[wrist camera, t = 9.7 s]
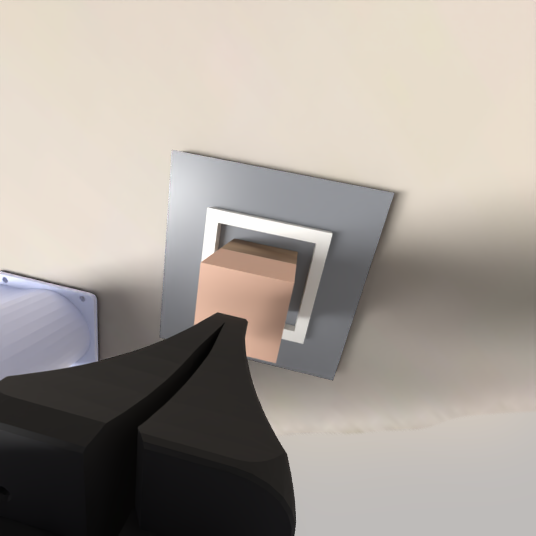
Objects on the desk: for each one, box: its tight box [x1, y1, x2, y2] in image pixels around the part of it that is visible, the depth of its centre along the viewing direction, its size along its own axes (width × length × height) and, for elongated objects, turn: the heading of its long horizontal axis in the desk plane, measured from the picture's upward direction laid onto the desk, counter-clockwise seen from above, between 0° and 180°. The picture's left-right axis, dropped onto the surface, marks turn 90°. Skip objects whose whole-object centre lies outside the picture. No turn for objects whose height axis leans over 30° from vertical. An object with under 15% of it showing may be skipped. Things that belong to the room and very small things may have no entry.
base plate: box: [160, 150, 394, 380], centre depth 18 cm, size 14×14×2 cm
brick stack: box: [194, 239, 298, 363], centre depth 15 cm, size 4×4×6 cm
